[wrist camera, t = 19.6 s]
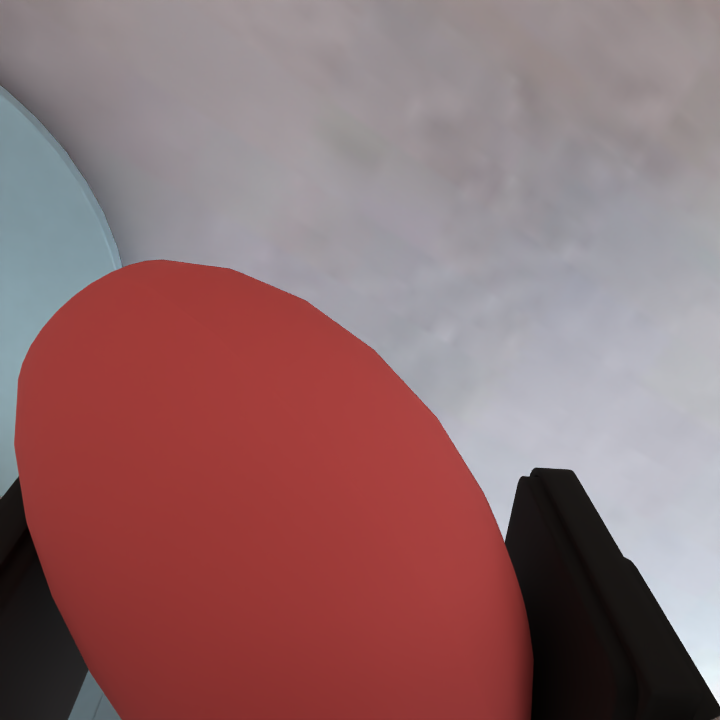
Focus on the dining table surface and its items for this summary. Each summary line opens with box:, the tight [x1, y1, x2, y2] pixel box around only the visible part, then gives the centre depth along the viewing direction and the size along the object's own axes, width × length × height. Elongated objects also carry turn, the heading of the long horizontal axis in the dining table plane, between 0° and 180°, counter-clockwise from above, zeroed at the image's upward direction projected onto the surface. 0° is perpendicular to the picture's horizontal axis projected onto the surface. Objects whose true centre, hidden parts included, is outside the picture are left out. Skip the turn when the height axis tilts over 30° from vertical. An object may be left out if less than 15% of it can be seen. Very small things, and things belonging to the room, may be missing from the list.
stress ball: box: [14, 260, 534, 720], centre depth 8 cm, size 5×9×6 cm, turn 9°
